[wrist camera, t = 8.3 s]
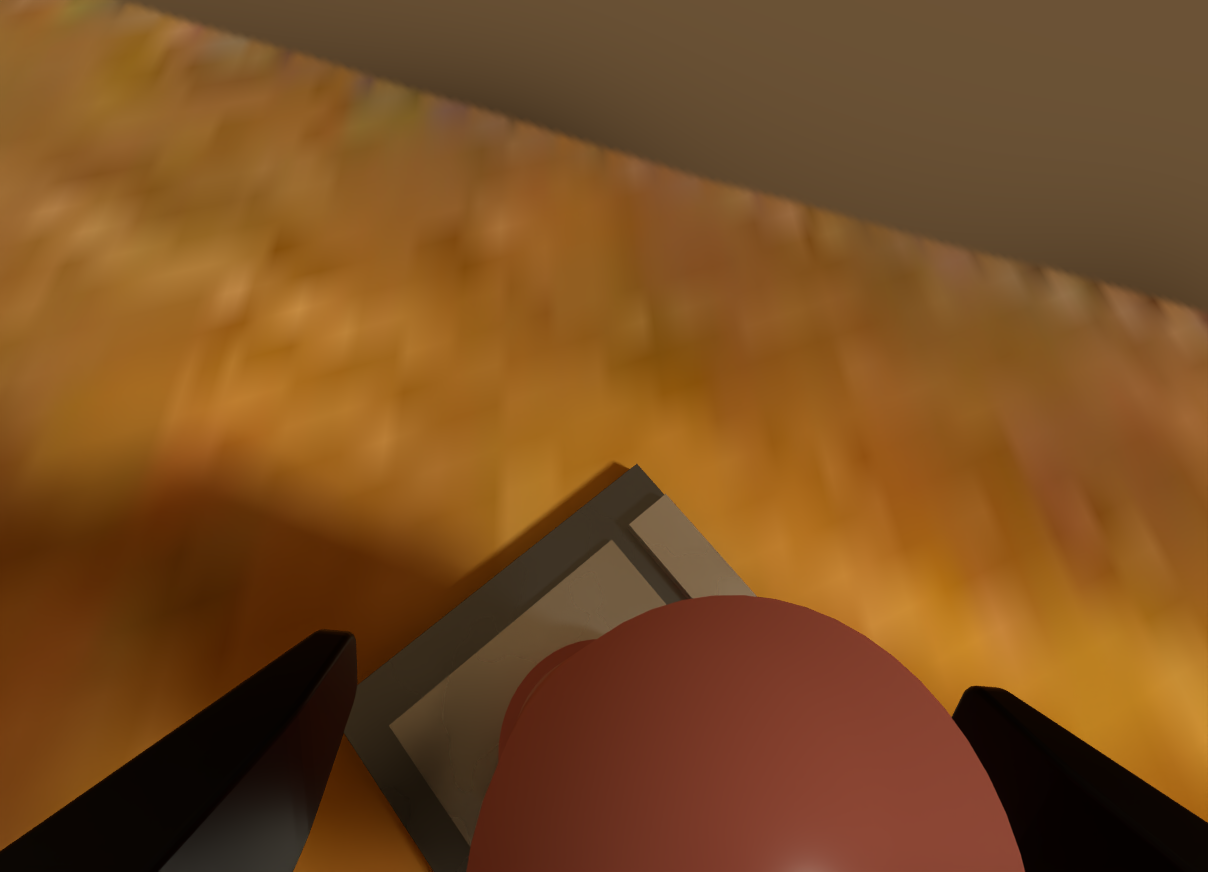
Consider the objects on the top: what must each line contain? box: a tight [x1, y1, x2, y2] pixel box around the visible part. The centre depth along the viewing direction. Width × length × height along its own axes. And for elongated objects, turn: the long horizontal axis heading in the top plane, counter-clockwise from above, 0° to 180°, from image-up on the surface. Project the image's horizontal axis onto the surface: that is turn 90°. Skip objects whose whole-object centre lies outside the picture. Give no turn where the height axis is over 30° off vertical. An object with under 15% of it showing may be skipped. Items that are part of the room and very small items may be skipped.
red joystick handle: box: [466, 595, 1025, 872], centre depth 9 cm, size 5×5×11 cm
